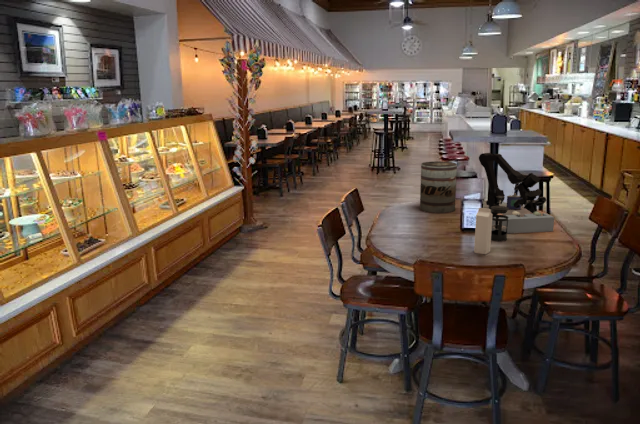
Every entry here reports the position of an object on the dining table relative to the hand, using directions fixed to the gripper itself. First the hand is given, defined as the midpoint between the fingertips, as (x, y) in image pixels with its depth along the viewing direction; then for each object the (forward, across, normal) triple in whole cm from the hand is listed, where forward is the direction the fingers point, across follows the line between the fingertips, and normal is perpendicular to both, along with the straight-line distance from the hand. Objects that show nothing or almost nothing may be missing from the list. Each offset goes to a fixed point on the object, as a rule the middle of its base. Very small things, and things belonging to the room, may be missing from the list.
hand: (536, 214), depth 293 cm
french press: (+14, -34, -4) cm, 37 cm away
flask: (-22, +14, +32) cm, 41 cm away
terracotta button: (+1, -23, +1) cm, 23 cm away
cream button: (-1, -11, +3) cm, 12 cm away
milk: (+26, -54, -16) cm, 62 cm away
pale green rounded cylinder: (+3, -1, -1) cm, 3 cm away
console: (+8, -12, +2) cm, 15 cm away
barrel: (-35, -32, +44) cm, 64 cm away
